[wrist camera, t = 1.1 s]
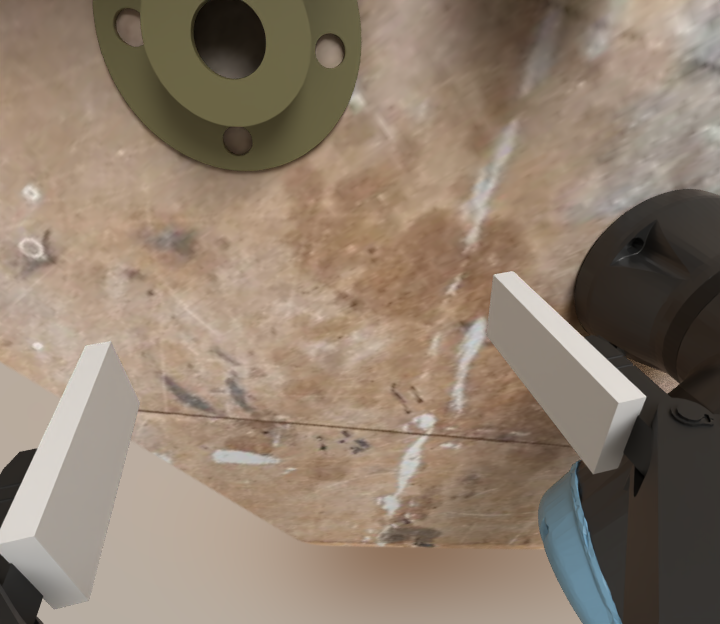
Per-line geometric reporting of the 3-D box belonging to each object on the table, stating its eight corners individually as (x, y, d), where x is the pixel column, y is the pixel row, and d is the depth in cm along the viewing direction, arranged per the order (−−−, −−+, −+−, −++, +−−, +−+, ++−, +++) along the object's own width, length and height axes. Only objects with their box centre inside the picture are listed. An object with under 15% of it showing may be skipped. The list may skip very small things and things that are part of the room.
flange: (28, -200, 18) (96, 177, 26) (389, -129, 21) (357, 192, 28) (73, -156, 22) (120, 159, 30) (371, -101, 25) (347, 174, 32)
